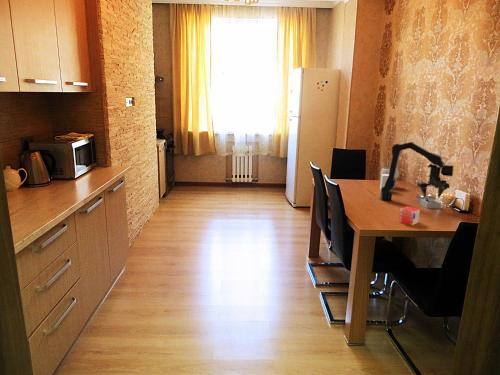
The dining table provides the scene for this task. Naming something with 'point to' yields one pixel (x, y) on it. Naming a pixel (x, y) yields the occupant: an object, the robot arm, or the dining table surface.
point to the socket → (430, 204)
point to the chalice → (387, 170)
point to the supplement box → (383, 180)
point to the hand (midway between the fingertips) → (431, 197)
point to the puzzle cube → (409, 215)
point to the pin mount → (422, 198)
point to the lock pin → (420, 195)
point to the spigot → (431, 198)
